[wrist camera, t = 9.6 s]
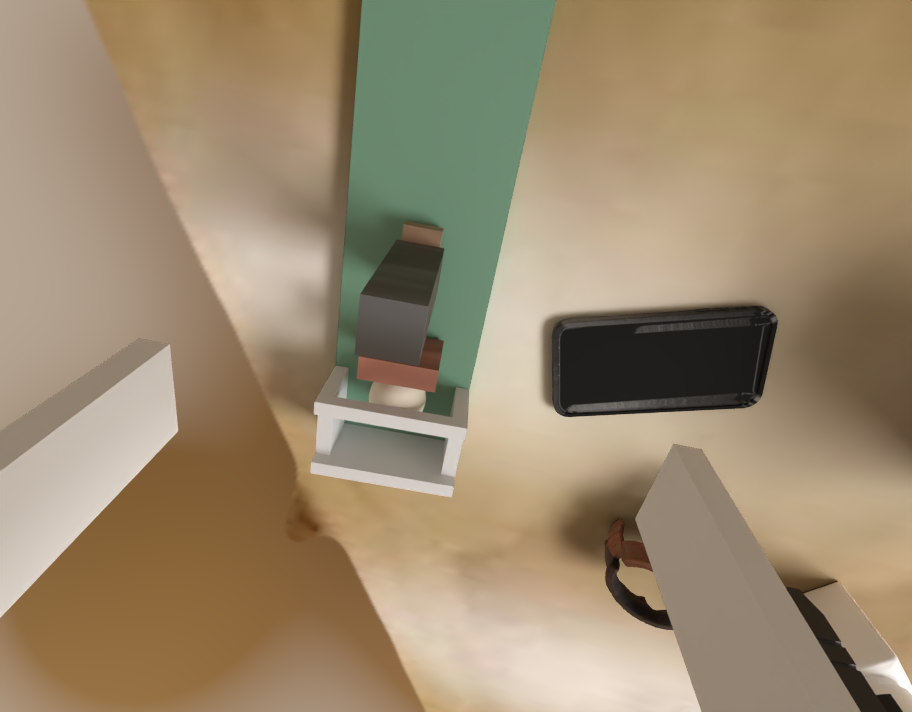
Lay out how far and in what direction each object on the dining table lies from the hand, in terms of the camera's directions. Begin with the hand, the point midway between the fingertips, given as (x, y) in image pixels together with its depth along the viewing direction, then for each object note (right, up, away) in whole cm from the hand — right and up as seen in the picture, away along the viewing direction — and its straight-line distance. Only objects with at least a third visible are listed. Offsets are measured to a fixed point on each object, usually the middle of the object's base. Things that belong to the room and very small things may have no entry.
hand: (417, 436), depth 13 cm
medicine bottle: (+35, -23, +34) cm, 54 cm away
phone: (+16, +2, +23) cm, 28 cm away
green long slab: (-1, +9, +20) cm, 22 cm away
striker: (-2, +6, +20) cm, 21 cm away
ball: (-3, -1, +21) cm, 22 cm away
